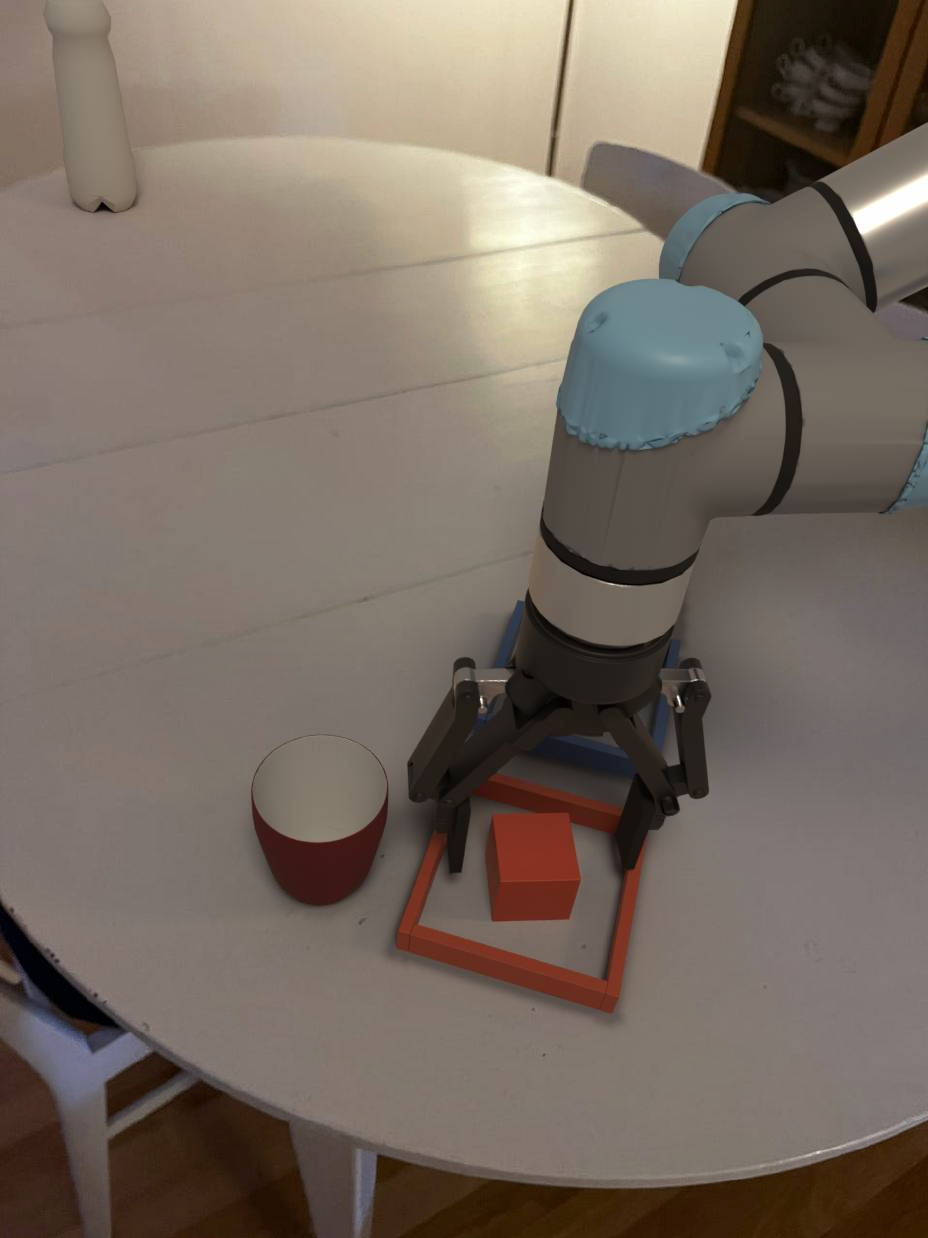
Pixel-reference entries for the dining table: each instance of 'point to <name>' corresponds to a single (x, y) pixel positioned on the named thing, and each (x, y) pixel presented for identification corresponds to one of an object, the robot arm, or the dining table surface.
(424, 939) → the red tray
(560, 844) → the red block
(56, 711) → the dining table surface
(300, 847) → the mug
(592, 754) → the blue square frame
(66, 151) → the bottle
